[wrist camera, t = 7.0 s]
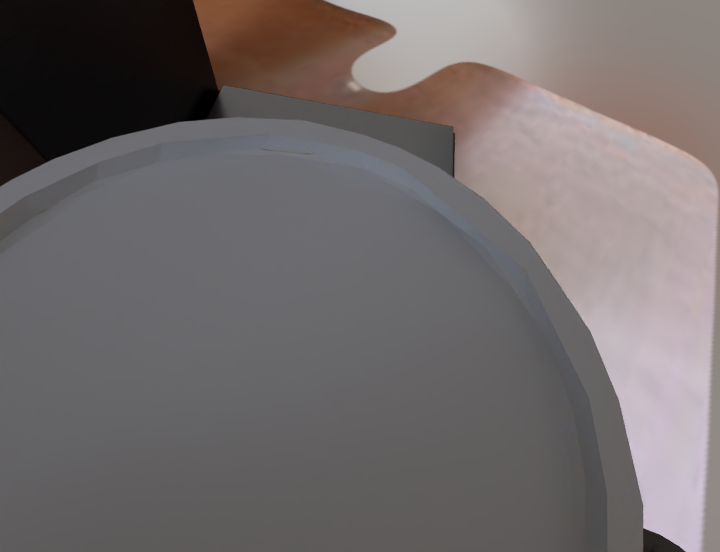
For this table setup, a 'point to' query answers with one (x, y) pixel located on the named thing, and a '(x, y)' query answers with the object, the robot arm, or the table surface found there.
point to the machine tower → (95, 74)
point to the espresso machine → (342, 122)
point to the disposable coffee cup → (291, 357)
